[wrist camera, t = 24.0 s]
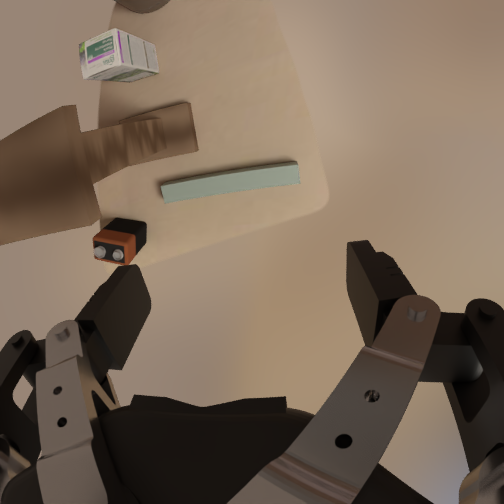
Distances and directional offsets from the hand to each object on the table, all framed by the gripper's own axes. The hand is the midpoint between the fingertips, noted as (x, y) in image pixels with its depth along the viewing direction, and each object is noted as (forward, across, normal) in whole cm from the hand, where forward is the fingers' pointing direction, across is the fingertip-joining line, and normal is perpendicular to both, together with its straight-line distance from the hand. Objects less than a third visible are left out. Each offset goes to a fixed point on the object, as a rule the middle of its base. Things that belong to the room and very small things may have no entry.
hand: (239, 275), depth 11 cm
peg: (+38, +6, +5) cm, 39 cm away
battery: (+38, +26, +11) cm, 48 cm away
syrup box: (+38, +17, -18) cm, 46 cm away
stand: (+38, +16, -5) cm, 42 cm away
